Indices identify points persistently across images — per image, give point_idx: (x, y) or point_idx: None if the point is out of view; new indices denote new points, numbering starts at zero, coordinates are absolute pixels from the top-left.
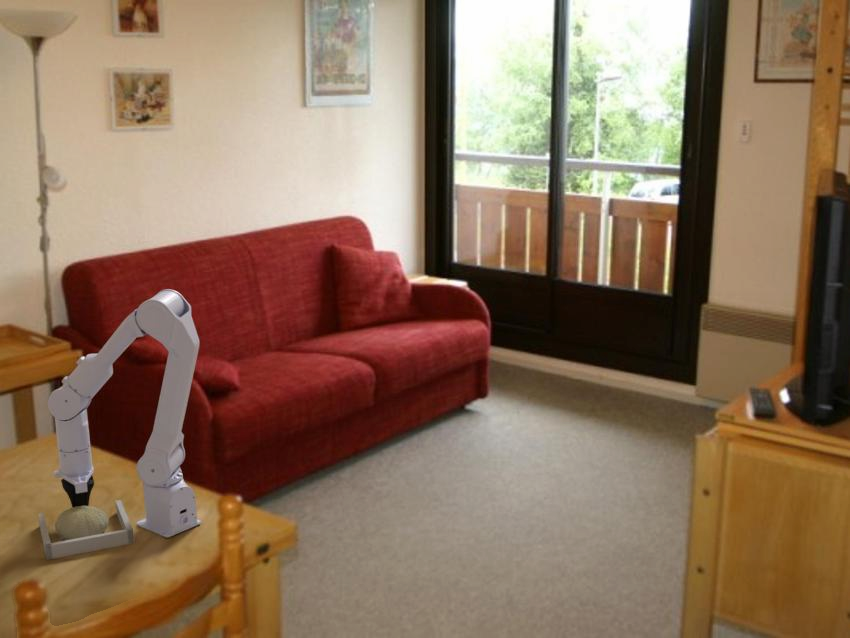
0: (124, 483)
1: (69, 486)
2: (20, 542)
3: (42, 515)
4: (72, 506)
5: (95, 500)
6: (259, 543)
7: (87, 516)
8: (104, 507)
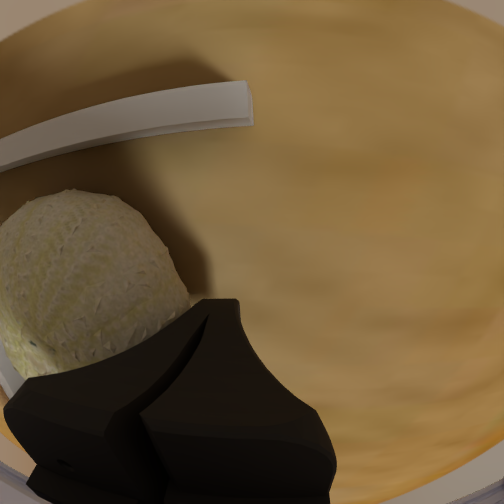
0: (479, 418)
1: (15, 435)
2: (104, 33)
3: (211, 108)
4: (169, 324)
5: (432, 359)
6: None
7: (10, 359)
8: (346, 389)
